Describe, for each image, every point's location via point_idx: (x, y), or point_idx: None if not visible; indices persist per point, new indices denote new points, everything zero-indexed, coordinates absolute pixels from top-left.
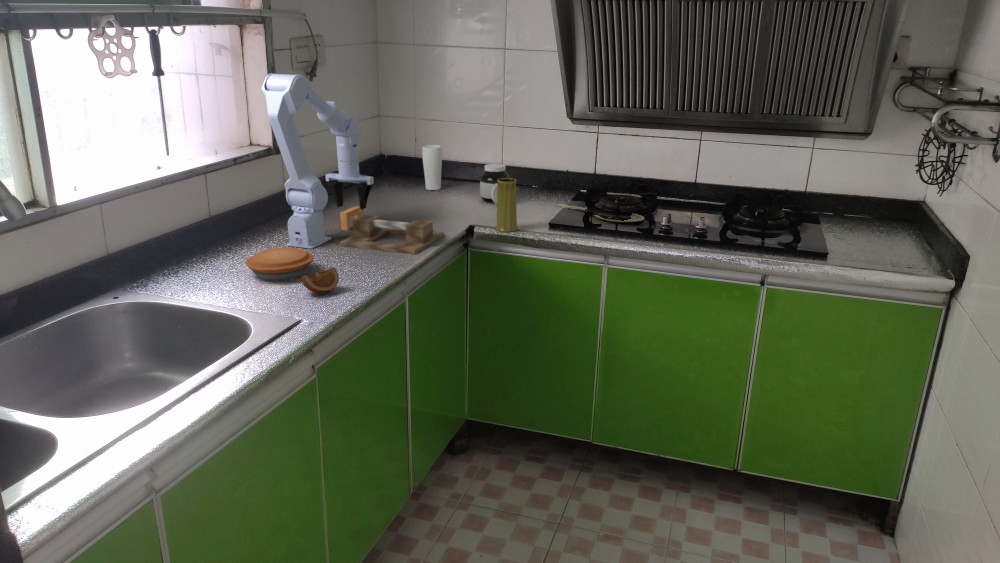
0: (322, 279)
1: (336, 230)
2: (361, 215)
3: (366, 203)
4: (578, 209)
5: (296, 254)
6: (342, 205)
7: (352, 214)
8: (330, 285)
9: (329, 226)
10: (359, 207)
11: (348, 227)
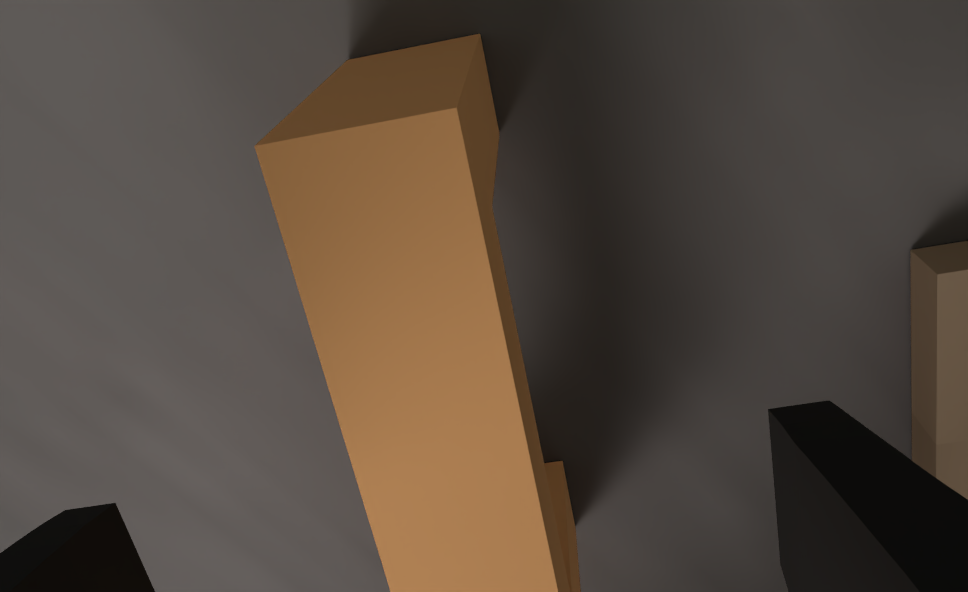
0: None
1: None
2: (487, 144)
3: (898, 461)
4: None
5: None
6: (119, 523)
7: (552, 524)
8: None
9: (173, 492)
10: (495, 285)
11: (571, 525)
